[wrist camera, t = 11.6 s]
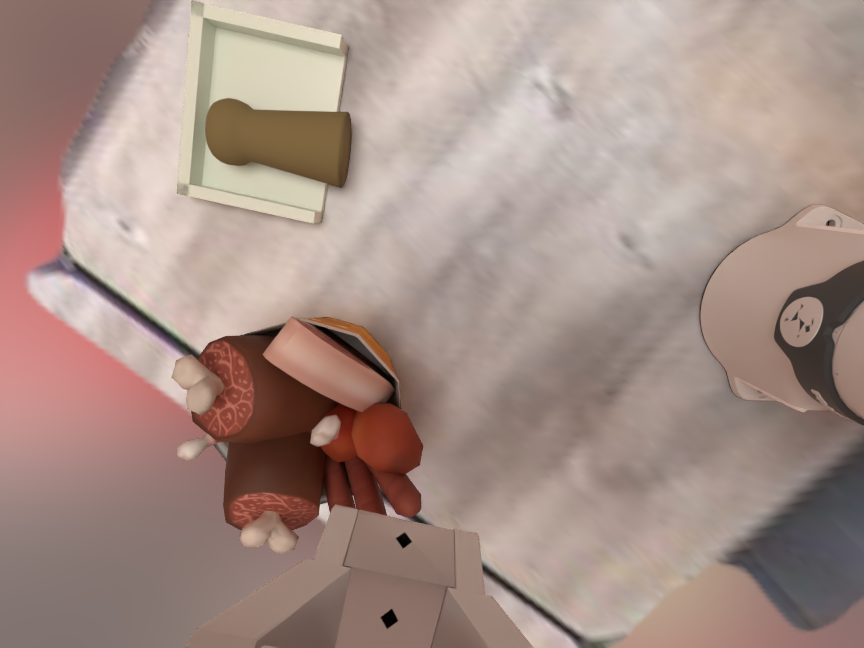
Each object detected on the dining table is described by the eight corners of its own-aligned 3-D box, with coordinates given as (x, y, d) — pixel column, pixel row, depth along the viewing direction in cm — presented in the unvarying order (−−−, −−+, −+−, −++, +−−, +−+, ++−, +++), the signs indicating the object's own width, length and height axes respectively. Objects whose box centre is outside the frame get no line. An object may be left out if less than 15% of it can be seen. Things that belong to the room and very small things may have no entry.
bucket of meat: (211, 375, 49) (59, 489, 30) (305, 249, 46) (201, 286, 26) (366, 488, 52) (319, 659, 33) (466, 377, 48) (479, 496, 29)
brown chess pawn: (352, 101, 41) (220, 79, 40) (337, 127, 36) (189, 103, 36) (350, 169, 45) (230, 150, 44) (337, 200, 40) (203, 179, 40)
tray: (348, 46, 41) (341, 34, 38) (321, 222, 45) (313, 223, 42) (209, 14, 41) (191, 0, 38) (194, 193, 45) (176, 193, 42)
